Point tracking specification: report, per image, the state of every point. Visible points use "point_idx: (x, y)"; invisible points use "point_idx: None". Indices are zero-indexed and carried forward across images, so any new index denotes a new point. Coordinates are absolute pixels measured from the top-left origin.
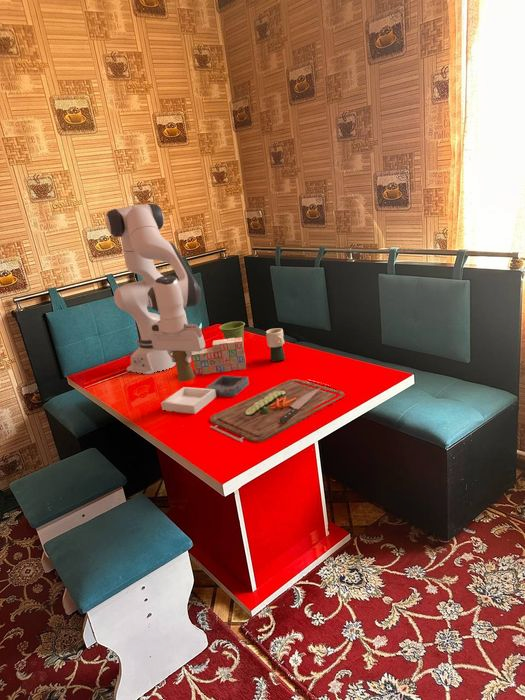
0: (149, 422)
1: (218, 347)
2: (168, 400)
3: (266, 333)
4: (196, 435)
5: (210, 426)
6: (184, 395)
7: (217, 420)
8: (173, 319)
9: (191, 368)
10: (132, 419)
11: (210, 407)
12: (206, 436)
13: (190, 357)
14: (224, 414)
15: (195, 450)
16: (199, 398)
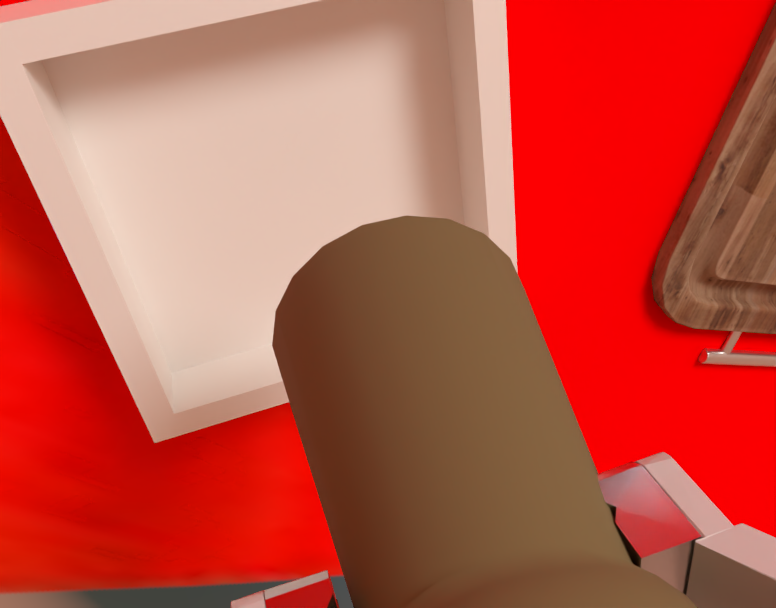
0: (246, 527)
1: None
2: (155, 363)
3: None
4: (661, 446)
5: (705, 363)
6: (66, 83)
7: (708, 285)
8: None
9: (550, 360)
10: (63, 577)
11: (544, 151)
12: (719, 425)
13: (720, 520)
14: (743, 223)
15: (722, 512)
16: (332, 73)
